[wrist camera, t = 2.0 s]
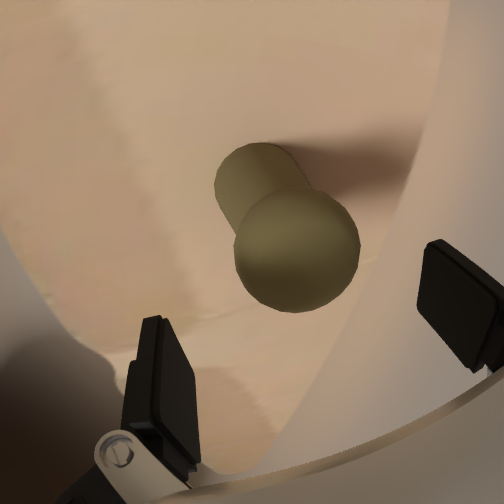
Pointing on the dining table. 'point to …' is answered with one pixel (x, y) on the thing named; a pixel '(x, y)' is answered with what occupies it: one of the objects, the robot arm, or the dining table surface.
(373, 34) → the dining table surface
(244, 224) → the pepper shaker
